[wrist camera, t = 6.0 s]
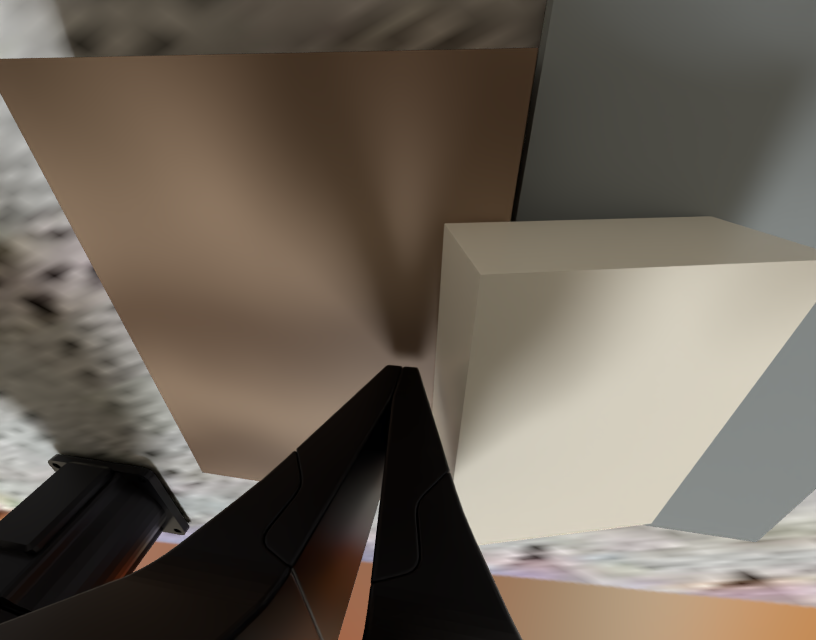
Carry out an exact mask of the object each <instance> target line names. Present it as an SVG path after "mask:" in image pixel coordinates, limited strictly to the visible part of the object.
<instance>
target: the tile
mask: <svg viewBox="0 0 816 640" xmlns="http://www.w3.org/2000/svg"><path fill="white" fill-rule="evenodd" d="M815 303H816V249H815V248H812V247H808V246H805V245H802V244H799V243H796V242H792V241H789V240H786V239H783V238H779V237H776V236H773V235H770V234H767V233H763V232H760V231H757V230H754V229H751V228H747V227H744V226H741V225H738V224H734V223H731V222H728V221H725V220H722V219H718V218H715V217H712V216H701V217H664V218H627V219H590V220H553V221H516V222H479V223H444V236H443V252H442V267H441V283H440V299H439V314H438V330H437V346H436V361H435V377H434V393H433V409H432V414H433V417H434V420H435V424H436V427H437V430H438V433H439V436H440V440H441V443H442V446H443V449H444V453H445V456H446V459H447V462H448V466H449V469H450V473H451V475H452V478H453V481H454V484H455V488H456V491H457V494H458V496H459V499H460V502H461V505H462V508H463V511H464V513H465V516H466V518H467V521H468V523H469V525H470V528H471V530H472V533H473V535H474V537H475V540H476V542H477V544H478V545H485V544H493V543H501V542H509V541H517V540H525V539H533V538H541V537H549V536H557V535H565V534H573V533H581V532H589V531H597V530H605V529H613V528H621V527H629V526H637V525H644V524H651V523H652V522H653V521H654V519H655V518H656V517H657V515H658V514H659V513H660V511H661V510H662V509H663V507H664V506H665V505H666V503H667V502H668V500H669V499H670V498H671V496H672V495H673V494H674V492H675V491H676V490H677V488H678V487H679V486H680V484H681V483H682V482H683V480H684V479H685V478H686V476H687V475H688V474H689V472H690V471H691V470H692V468H693V467H694V466H695V464H696V463H697V461H698V460H699V459H700V457H701V456H702V455H703V453H704V452H705V451H706V449H707V448H708V447H709V445H710V444H711V443H712V441H713V440H714V439H715V437H716V436H717V435H718V433H719V432H720V431H721V429H722V428H723V427H724V425H725V424H726V422H727V421H728V420H729V418H730V417H731V416H732V414H733V413H734V412H735V410H736V409H737V408H738V406H739V405H740V404H741V402H742V401H743V400H744V398H745V397H746V396H747V394H748V393H749V392H750V390H751V389H752V388H753V386H754V385H755V383H756V382H757V381H758V379H759V378H760V377H761V375H762V374H763V373H764V371H765V370H766V369H767V367H768V366H769V365H770V363H771V362H772V361H773V359H774V358H775V357H776V355H777V354H778V353H779V351H780V350H781V349H782V347H783V346H784V344H785V343H786V342H787V340H788V339H789V338H790V336H791V335H792V334H793V332H794V331H795V330H796V328H797V327H798V326H799V324H800V323H801V322H802V320H803V319H804V318H805V316H806V315H807V314H808V312H809V311H810V310H811V308H812V307H813V305H814V304H815Z"/></svg>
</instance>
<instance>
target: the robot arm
mask: <svg viewBox="0 0 816 640" xmlns="http://www.w3.org/2000/svg"><path fill="white" fill-rule="evenodd" d="M48 463H49V465H50V466H51V467H52V468H53V469H54V470H55V471H56V472H55V473H54V474H53V475H52V476H51V477H50V478H49V479H47V480H46V481H45V482H44V483H43V484H42V485H41V486H39V487H38V488H37V489H36V490H35V491H34V492H33V493H32V494H30V495H29V496H28V497H27V498H26V499H25V500H24V501H22V502H21V503H20V504H19V505H18V506H17V507H16V508H14V509H13V510H12V511H11V512H10V513H9V514H8V515H6V516H5V517H4V518H3V519H2V520H1V521H0V640H338V637H339V634H340V630H341V627H342V623H343V620H344V617H345V613H346V610H347V607H348V603H349V600H350V597H351V593H352V590H353V587H354V583H355V580H356V576H357V573H358V570H359V566H360V563H361V560H362V556H363V553H364V550H365V546H366V543H367V539H368V536H369V533H370V529H371V526H372V523H373V519H374V516H375V513H376V509H377V506H378V502H379V499H380V505H379V514H378V523H377V532H376V540H375V549H374V558H373V568H372V576H371V587H370V593H369V601H368V609H367V616H366V622H365V629H364V634H363V639H362V640H522V638H521V636H520V634H519V632H518V630H517V628H516V626H515V625H514V622H513V620H512V618H511V616H510V614H509V612H508V610H507V608H506V606H505V603H504V601H503V599H502V597H501V595H500V593H499V590H498V588H497V586H496V584H495V581H494V579H493V577H492V575H491V573H490V570H489V568H488V566H487V564H486V562H485V560H484V557H483V555H482V553H481V551H480V549H479V546H478V544H477V542H476V540H475V537H474V535H473V533H472V530H471V528H470V525H469V523H468V521H467V518H466V516H465V513H464V511H463V508H462V505H461V502H460V499H459V496H458V494H457V491H456V488H455V484H454V481H453V478H452V475H451V473H450V469H449V466H448V462H447V459H446V456H445V453H444V449H443V446H442V443H441V440H440V436H439V433H438V430H437V427H436V424H435V420H434V417H433V414H432V411H431V407H430V404H429V401H428V398H427V394H426V391H425V388H424V385H423V381H422V378H421V375H420V372H419V369H418V368H417V367H408V366H404V367H403V368H402V366H398V365H387V366H385V367H384V368H383V369H382V370H381V371H380V372H379V373H378V374H377V375H376V376H374V377H373V378H372V379H371V380H370V381H369V382H368V383H367V384H366V385H365V386H364V387H363V388H361V389H360V390H359V391H358V392H357V393H356V394H355V395H354V396H353V397H352V398H351V399H350V400H349V401H347V402H346V403H345V404H344V405H343V406H342V407H341V408H340V409H339V410H338V411H337V412H336V413H334V414H333V415H332V416H331V417H330V418H329V419H328V420H327V421H326V422H325V423H324V424H323V425H321V426H320V427H319V428H318V429H317V430H316V431H315V432H314V433H313V434H312V435H311V436H310V437H308V438H307V439H306V440H305V441H304V442H303V443H302V444H301V445H300V446H299V447H298V448H297V449H296V451H293V452H292V453H291V454H290V455H289V456H288V457H287V458H286V459H284V460H283V461H282V462H281V463H280V464H279V465H278V466H277V467H275V468H274V469H273V470H272V471H271V472H270V473H269V474H268V475H266V476H265V477H264V478H263V479H262V480H261V481H259V482H258V483H257V484H256V485H254V486H253V487H252V488H251V489H249V490H248V491H247V492H246V493H244V494H243V495H242V496H241V497H239V498H238V499H237V500H236V501H234V502H233V503H232V504H230V505H229V506H228V507H227V508H225V509H224V510H223V511H221V512H220V513H219V514H217V515H216V516H215V517H214V518H212V519H211V520H210V521H208V522H207V523H206V524H204V525H203V526H202V527H201V528H199V529H198V530H197V531H195V532H194V533H193V534H191V535H190V536H189V537H188V538H186V539H185V540H184V541H182V542H181V543H180V544H179V545H177V546H176V547H175V548H173V549H172V550H170V551H169V552H168V553H166V554H165V555H163V556H162V557H160V558H159V559H157V560H155V561H154V562H152V563H150V564H149V565H147V566H145V567H143V568H141V569H140V570H138V571H135V572H133V571H134V570H135V569H136V567H137V566H138V564H139V563H140V562H141V560H142V559H143V557H144V556H145V555H146V553H147V552H148V551H149V549H150V548H151V547H152V545H153V544H154V542H155V541H156V540H157V538H158V537H159V536H160V534H161V533H162V532H168V533H173V534H179V535H185V533H186V532H187V530H188V529H189V525H188V523H187V522H186V520H185V519H184V517H183V516H182V514H181V513H180V511H179V510H178V508H177V507H176V505H175V504H174V502H173V501H172V499H171V498H170V496H169V495H168V493H167V492H166V490H165V489H164V487H163V486H162V484H161V483H160V481H159V479H158V478H157V476H156V475H155V474H154V473H153V472H152V471H151V470H149V469H146V468H142V467H135V466H129V465H123V464H117V463H110V462H104V461H98V460H91V459H85V458H79V457H73V456H66V455H60V454H56V455H55V456H54V457H52V458H51V459H50V460H49V461H48Z"/></svg>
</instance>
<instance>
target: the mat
mask: <svg viewBox="0 0 816 640" xmlns="http://www.w3.org/2000/svg"><path fill="white" fill-rule="evenodd" d="M701 216H712V217H715V218H718V219H722V220H725V221H728V222H731V223H734V224H738V225H741V226H744V227H747V228H751V229H754V230H757V231H760V232H763V233H767V234H770V235H773V236H776V237H779V238H783V239H786V240H789V241H792V242H796V243H799V244H802V245H805V246H808V247H812V248H815V249H816V0H547V4H546V10H545V16H544V23H543V29H542V35H541V41H540V47H539V53H538V59H537V65H536V71H535V78H534V84H533V90H532V96H531V102H530V108H529V114H528V120H527V126H526V132H525V139H524V145H523V151H522V157H521V163H520V169H519V175H518V181H517V187H516V194H515V200H514V206H513V212H512V218H511V222H516V221H553V220H590V219H627V218H664V217H701ZM815 489H816V303H815V304H814V305H813V307H812V308H811V310H810V311H809V312H808V314H807V315H806V316H805V318H804V319H803V320H802V322H801V323H800V324H799V326H798V327H797V328H796V330H795V331H794V332H793V334H792V335H791V336H790V338H789V339H788V340H787V342H786V343H785V344H784V346H783V347H782V349H781V350H780V351H779V353H778V354H777V355H776V357H775V358H774V359H773V361H772V362H771V363H770V365H769V366H768V367H767V369H766V370H765V371H764V373H763V374H762V375H761V377H760V378H759V379H758V381H757V382H756V383H755V385H754V386H753V388H752V389H751V390H750V392H749V393H748V394H747V396H746V397H745V398H744V400H743V401H742V402H741V404H740V405H739V406H738V408H737V409H736V410H735V412H734V413H733V414H732V416H731V417H730V418H729V420H728V421H727V422H726V424H725V425H724V427H723V428H722V429H721V431H720V432H719V433H718V435H717V436H716V437H715V439H714V440H713V441H712V443H711V444H710V445H709V447H708V448H707V449H706V451H705V452H704V453H703V455H702V456H701V457H700V459H699V460H698V461H697V463H696V464H695V466H694V467H693V468H692V470H691V471H690V472H689V474H688V475H687V476H686V478H685V479H684V480H683V482H682V483H681V484H680V486H679V487H678V488H677V490H676V491H675V492H674V494H673V495H672V496H671V498H670V499H669V500H668V502H667V503H666V505H665V506H664V507H663V509H662V510H661V511H660V513H659V514H658V515H657V517H656V518H655V519H654V521H653V522H652V523H651V524H644V525H646V526H653V527H660V528H666V529H673V530H679V531H686V532H693V533H699V534H706V535H712V536H719V537H726V538H732V539H739V540H746V541H752V542H757V541H758V540H759V539H761V538H762V537H763V536H764V535H765V534H766V533H767V532H768V531H769V530H771V529H772V528H773V527H774V526H775V525H776V524H777V523H778V522H779V521H781V520H782V519H783V518H784V517H785V516H786V515H787V514H788V513H790V512H791V511H792V510H793V509H794V508H795V507H796V506H797V505H798V504H800V503H801V502H802V501H803V500H804V499H805V498H806V497H807V496H808V495H810V494H811V493H812V492H813V491H814V490H815Z"/></svg>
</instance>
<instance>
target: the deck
mask: <svg viewBox="0 0 816 640" xmlns="http://www.w3.org/2000/svg"><path fill="white" fill-rule="evenodd" d="M537 53H538V48H502V49H454V50H406V51H358V52H309V53H261V54H213V55H165V56H117V57H69V58H20V59H0V93H1V95H2V97H3V99H4V101H5V103H6V105H7V107H8V108H9V110H10V112H11V114H12V116H13V118H14V120H15V122H16V123H17V125H18V127H19V129H20V131H21V133H22V135H23V137H24V138H25V140H26V142H27V144H28V146H29V148H30V150H31V152H32V153H33V155H34V157H35V159H36V161H37V163H38V165H39V167H40V168H41V170H42V172H43V174H44V176H45V178H46V180H47V182H48V183H49V185H50V187H51V189H52V191H53V193H54V195H55V197H56V198H57V200H58V202H59V204H60V206H61V208H62V210H63V212H64V213H65V215H66V217H67V219H68V221H69V223H70V225H71V227H72V228H73V230H74V232H75V234H76V236H77V238H78V240H79V242H80V243H81V245H82V247H83V249H84V251H85V253H86V255H87V257H88V258H89V260H90V262H91V264H92V266H93V268H94V270H95V272H96V273H97V275H98V277H99V279H100V281H101V283H102V285H103V287H104V288H105V290H106V292H107V294H108V296H109V298H110V300H111V302H112V303H113V305H114V307H115V309H116V311H117V313H118V315H119V317H120V318H121V320H122V322H123V324H124V326H125V328H126V330H127V332H128V333H129V335H130V337H131V339H132V341H133V343H134V345H135V347H136V348H137V350H138V352H139V354H140V356H141V358H142V360H143V362H144V363H145V365H146V367H147V369H148V371H149V373H150V375H151V377H152V378H153V380H154V382H155V384H156V386H157V388H158V390H159V392H160V393H161V395H162V397H163V399H164V401H165V403H166V405H167V407H168V408H169V410H170V412H171V414H172V416H173V418H174V420H175V421H176V423H177V425H178V427H179V429H180V431H181V433H182V435H183V436H184V438H185V440H186V442H187V444H188V446H189V448H190V450H191V451H192V453H193V455H194V457H195V459H196V461H197V463H198V465H199V466H200V468H201V470H202V472H204V473H211V474H217V475H224V476H230V477H236V478H243V479H249V480H255V481H261V480H262V479H263V478H264V477H265V476H266V475H268V474H269V473H270V472H271V471H272V470H273V469H274V468H275V467H277V466H278V465H279V464H280V463H281V462H282V461H283V460H284V459H286V458H287V457H288V456H289V455H290V454H291V453H292V452H293V451H296V449H297V448H298V447H299V446H300V445H301V444H302V443H303V442H304V441H305V440H306V439H307V438H308V437H310V436H311V435H312V434H313V433H314V432H315V431H316V430H317V429H318V428H319V427H320V426H321V425H323V424H324V423H325V422H326V421H327V420H328V419H329V418H330V417H331V416H332V415H333V414H334V413H336V412H337V411H338V410H339V409H340V408H341V407H342V406H343V405H344V404H345V403H346V402H347V401H349V400H350V399H351V398H352V397H353V396H354V395H355V394H356V393H357V392H358V391H359V390H360V389H361V388H363V387H364V386H365V385H366V384H367V383H368V382H369V381H370V380H371V379H372V378H373V377H374V376H376V375H377V374H378V373H379V372H380V371H381V370H382V369H383V368H384V367H385V366H387V365H398V366H402V368H403V367H404V366H408V367H417V368H418V369H419V372H420V375H421V378H422V381H423V385H424V388H425V391H426V394H427V398H428V401H429V404H430V407H431V411H432V409H433V393H434V377H435V361H436V346H437V330H438V314H439V299H440V283H441V267H442V252H443V236H444V223H479V222H510V219H511V213H512V207H513V201H514V194H515V188H516V182H517V176H518V170H519V164H520V157H521V151H522V145H523V139H524V133H525V127H526V120H527V114H528V108H529V102H530V96H531V90H532V84H533V77H534V71H535V65H536V59H537ZM379 500H380V499H379Z"/></svg>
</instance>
